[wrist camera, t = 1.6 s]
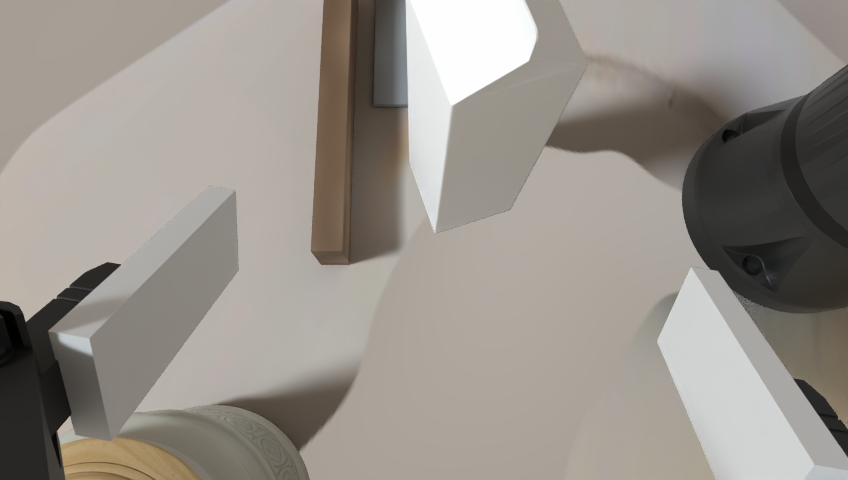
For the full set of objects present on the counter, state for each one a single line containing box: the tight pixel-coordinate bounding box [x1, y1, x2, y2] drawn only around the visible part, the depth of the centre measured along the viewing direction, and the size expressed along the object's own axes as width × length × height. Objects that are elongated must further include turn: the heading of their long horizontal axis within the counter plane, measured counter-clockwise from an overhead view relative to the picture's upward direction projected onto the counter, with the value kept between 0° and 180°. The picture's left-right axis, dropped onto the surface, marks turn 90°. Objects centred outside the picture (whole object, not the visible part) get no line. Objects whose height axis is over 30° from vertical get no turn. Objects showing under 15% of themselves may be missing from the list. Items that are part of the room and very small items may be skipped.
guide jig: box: [311, 0, 408, 265], centre depth 40 cm, size 16×26×4 cm, turn 0°
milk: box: [406, 0, 588, 233], centre depth 30 cm, size 6×6×22 cm
